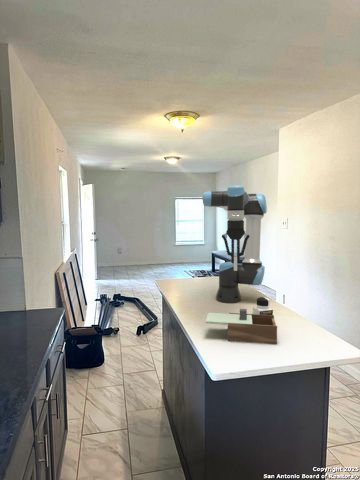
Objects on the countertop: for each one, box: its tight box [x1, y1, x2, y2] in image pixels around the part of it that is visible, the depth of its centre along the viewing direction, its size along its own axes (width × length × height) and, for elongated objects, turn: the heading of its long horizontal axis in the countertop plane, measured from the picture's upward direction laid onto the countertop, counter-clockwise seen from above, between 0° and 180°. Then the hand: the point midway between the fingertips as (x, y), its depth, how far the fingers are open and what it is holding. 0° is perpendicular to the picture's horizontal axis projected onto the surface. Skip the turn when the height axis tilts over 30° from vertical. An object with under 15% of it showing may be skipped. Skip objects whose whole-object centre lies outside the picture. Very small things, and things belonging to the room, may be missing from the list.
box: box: [227, 312, 278, 345], centre depth 141 cm, size 14×20×8 cm
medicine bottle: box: [252, 296, 274, 315], centre depth 158 cm, size 7×7×12 cm
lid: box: [205, 308, 252, 326], centre depth 142 cm, size 12×20×5 cm, turn 79°
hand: (235, 270), depth 150 cm, fingers closed
